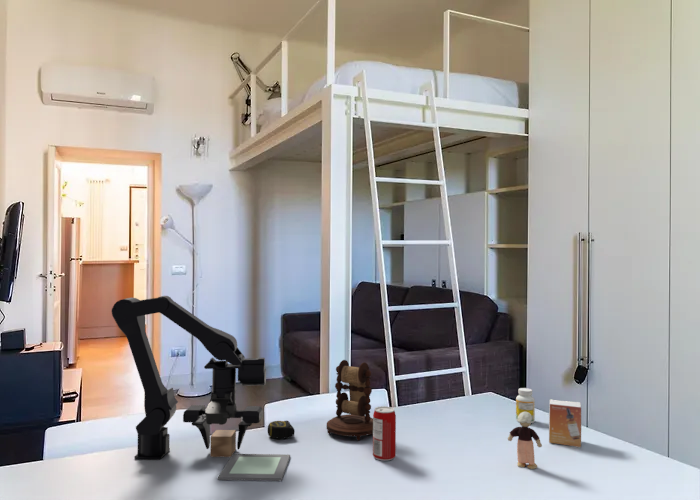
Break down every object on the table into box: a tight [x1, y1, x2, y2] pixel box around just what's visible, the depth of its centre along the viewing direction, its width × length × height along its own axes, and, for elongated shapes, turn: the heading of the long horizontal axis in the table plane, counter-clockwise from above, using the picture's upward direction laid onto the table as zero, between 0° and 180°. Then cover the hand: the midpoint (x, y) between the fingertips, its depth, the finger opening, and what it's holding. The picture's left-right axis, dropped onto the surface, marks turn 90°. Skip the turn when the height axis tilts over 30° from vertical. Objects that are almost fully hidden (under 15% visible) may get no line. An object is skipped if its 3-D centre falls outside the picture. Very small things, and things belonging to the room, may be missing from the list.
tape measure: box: [267, 420, 295, 440], centre depth 144 cm, size 7×7×4 cm
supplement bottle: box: [515, 387, 536, 424], centre depth 159 cm, size 5×5×10 cm
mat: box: [217, 453, 291, 482], centre depth 122 cm, size 14×14×1 cm
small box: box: [548, 399, 582, 448], centre depth 141 cm, size 8×6×10 cm
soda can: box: [372, 406, 397, 462], centre depth 129 cm, size 6×6×12 cm
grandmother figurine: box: [507, 412, 543, 470], centre depth 124 cm, size 8×4×13 cm, turn 71°
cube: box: [209, 429, 237, 458], centre depth 131 cm, size 5×5×5 cm
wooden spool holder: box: [326, 359, 373, 442], centre depth 147 cm, size 15×15×20 cm
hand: (223, 448), depth 131 cm, fingers open, 7 cm apart
